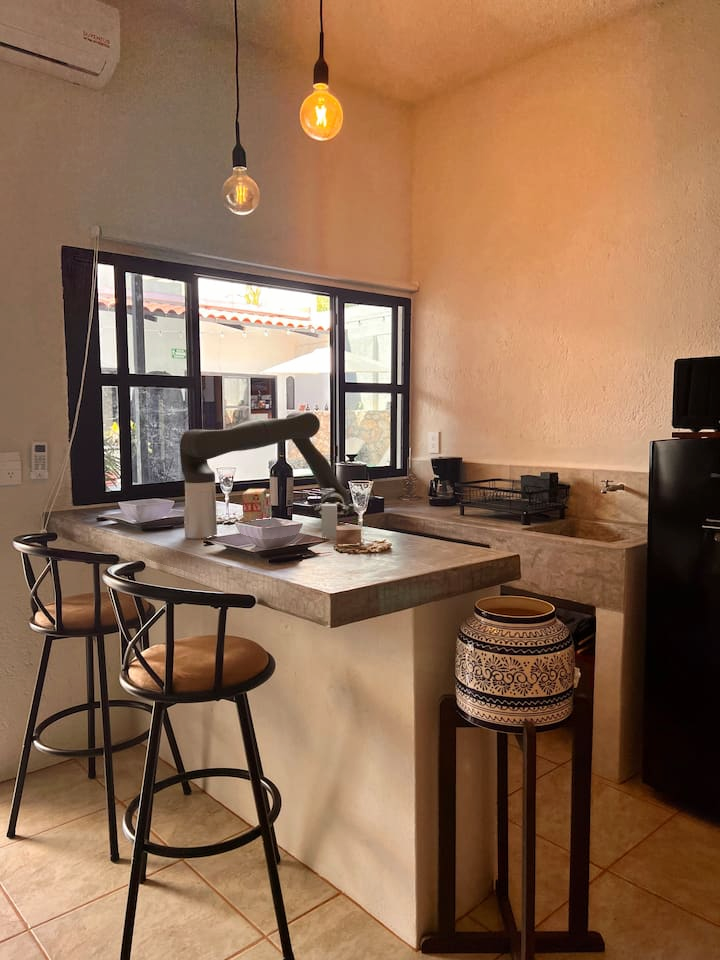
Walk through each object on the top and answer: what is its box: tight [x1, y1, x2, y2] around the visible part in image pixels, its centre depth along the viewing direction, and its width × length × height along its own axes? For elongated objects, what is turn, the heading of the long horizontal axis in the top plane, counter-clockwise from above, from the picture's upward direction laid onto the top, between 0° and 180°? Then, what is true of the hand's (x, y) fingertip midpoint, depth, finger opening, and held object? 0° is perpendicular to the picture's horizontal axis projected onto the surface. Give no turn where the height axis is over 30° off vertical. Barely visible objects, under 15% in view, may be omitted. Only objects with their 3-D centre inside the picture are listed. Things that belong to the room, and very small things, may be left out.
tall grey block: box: [321, 503, 338, 539], centre depth 210 cm, size 4×4×10 cm
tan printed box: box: [241, 488, 272, 523], centre depth 236 cm, size 21×6×12 cm, turn 179°
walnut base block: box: [335, 524, 362, 546], centre depth 200 cm, size 7×7×5 cm
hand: (331, 512), depth 221 cm, fingers open, 8 cm apart
